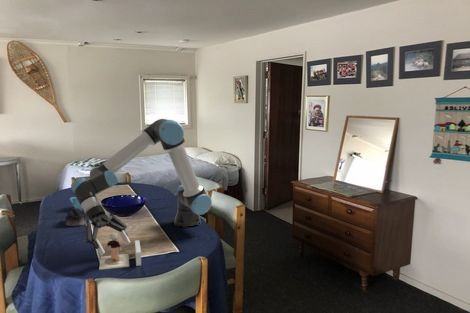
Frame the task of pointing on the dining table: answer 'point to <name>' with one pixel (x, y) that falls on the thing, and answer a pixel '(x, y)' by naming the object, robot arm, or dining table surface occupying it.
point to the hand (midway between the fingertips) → (116, 248)
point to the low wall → (137, 252)
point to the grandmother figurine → (114, 247)
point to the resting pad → (108, 264)
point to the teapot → (76, 203)
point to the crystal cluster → (76, 218)
